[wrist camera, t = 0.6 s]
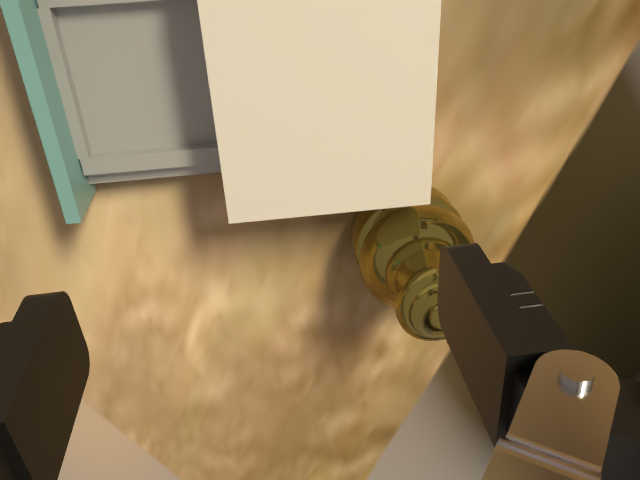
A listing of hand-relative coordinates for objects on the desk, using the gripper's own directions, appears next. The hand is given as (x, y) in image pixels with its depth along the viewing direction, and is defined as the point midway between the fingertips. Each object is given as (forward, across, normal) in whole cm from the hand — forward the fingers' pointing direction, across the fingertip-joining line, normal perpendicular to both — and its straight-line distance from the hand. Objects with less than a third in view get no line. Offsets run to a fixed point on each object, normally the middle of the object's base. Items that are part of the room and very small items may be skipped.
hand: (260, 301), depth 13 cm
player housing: (+24, -3, +1) cm, 24 cm away
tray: (+24, +5, +1) cm, 25 cm away
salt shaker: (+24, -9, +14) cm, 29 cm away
